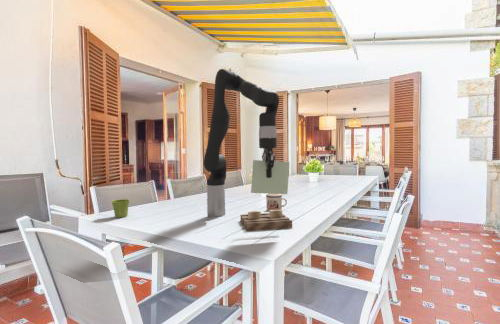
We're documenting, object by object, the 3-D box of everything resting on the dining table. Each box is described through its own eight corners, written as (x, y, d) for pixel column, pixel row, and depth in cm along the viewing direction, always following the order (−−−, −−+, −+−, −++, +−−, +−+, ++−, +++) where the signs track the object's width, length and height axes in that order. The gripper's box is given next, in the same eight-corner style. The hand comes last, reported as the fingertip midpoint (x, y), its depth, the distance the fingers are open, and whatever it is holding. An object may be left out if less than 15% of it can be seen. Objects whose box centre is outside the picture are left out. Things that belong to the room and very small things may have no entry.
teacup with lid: (264, 211, 169) (264, 191, 168) (268, 208, 177) (268, 188, 177) (285, 212, 165) (285, 191, 164) (288, 209, 174) (288, 189, 173)
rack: (247, 234, 125) (247, 223, 125) (240, 223, 143) (240, 214, 143) (292, 231, 129) (292, 220, 129) (280, 221, 147) (280, 212, 146)
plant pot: (107, 217, 159) (107, 201, 158) (121, 214, 168) (120, 198, 167) (121, 219, 155) (120, 202, 155) (134, 215, 164) (133, 199, 164)
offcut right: (270, 224, 136) (270, 211, 135) (269, 223, 137) (269, 210, 137) (282, 223, 137) (282, 210, 136) (281, 222, 138) (281, 209, 138)
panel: (251, 192, 127) (253, 160, 127) (251, 192, 129) (253, 160, 128) (287, 194, 131) (289, 162, 130) (286, 193, 132) (288, 162, 131)
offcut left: (248, 225, 134) (248, 212, 133) (248, 224, 135) (248, 211, 135) (260, 224, 135) (260, 211, 134) (260, 223, 136) (259, 210, 136)
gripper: (255, 137, 134) (256, 176, 135) (263, 136, 121) (264, 179, 122) (271, 137, 136) (272, 175, 137) (280, 136, 123) (281, 178, 123)
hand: (268, 177), depth 129 cm, fingers closed on panel, 1 cm apart
